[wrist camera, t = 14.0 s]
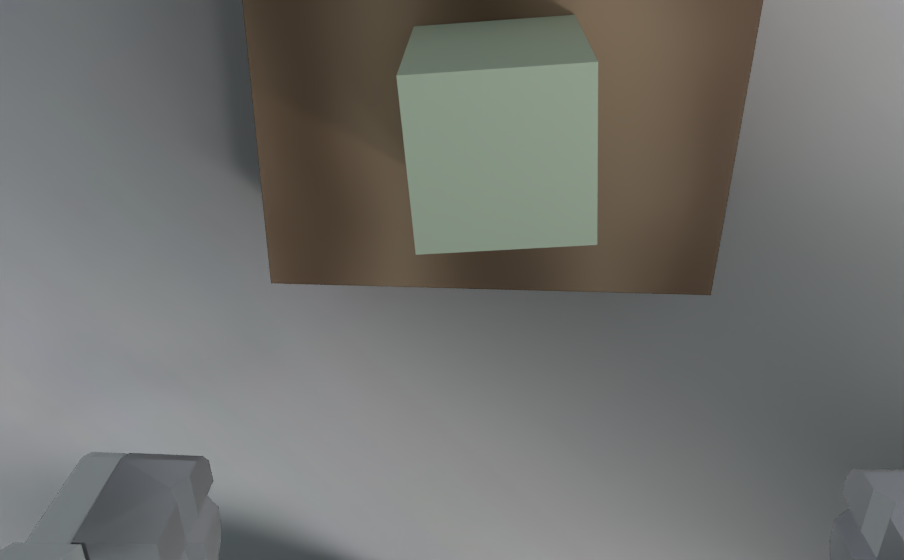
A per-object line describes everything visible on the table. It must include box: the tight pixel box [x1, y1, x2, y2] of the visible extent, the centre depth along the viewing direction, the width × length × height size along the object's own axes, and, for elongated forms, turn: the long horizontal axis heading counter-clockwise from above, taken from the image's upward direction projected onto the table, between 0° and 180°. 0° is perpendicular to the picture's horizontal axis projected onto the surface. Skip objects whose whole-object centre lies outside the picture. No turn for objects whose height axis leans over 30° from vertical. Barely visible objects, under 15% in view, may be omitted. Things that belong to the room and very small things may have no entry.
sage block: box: [396, 15, 598, 255], centre depth 25 cm, size 5×5×6 cm
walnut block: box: [242, 0, 763, 295], centre depth 30 cm, size 16×14×6 cm
